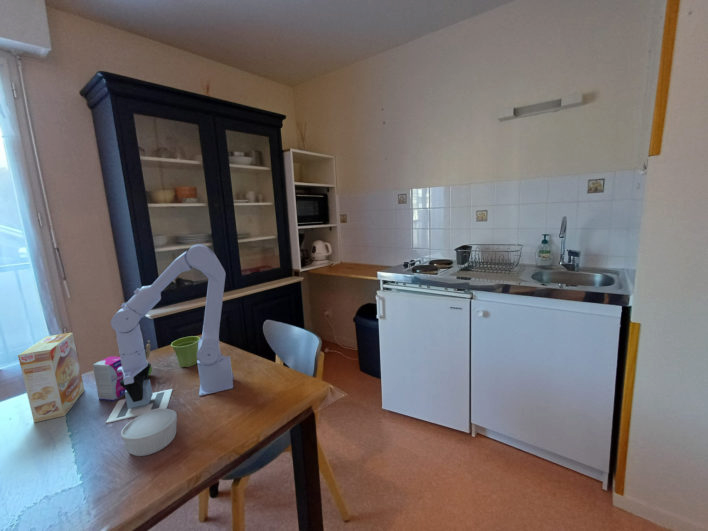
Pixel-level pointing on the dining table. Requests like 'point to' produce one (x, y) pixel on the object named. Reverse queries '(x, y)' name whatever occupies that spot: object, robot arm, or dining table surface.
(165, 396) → the letter sheet
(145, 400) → the blue cube
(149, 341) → the snail figurine
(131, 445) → the ramekin
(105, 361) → the supplement box
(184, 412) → the dining table surface
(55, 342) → the coffeecake box
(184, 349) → the plant pot
